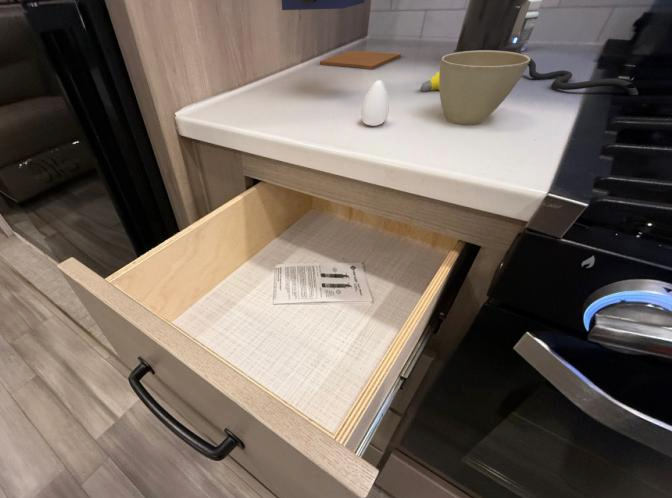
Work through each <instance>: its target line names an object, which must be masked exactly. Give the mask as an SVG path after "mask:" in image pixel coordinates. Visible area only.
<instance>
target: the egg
mask: <svg viewBox="0 0 672 498" xmlns="http://www.w3.org/2000/svg"><path fill="white" fill-rule="evenodd" d="M389 102H390V101H389V96H388V91H387V88H386V85H385V83H384V81H383V80H381V79H377V80H376V81H374V83H373V84H372V85H371V86H370V88H369V89H368V91H367V93H366V95H365V97H364V99H363V101H362V105H361V109H360V118H361V121H362V123H364V124H365V125H367V126H370V127H371V126H372V127H374V126H380V125H381V124H383V123H384V122H385V121H386V119H387V117H388V115H389V110H390V109H389V108H390V105H389V104H390V103H389Z"/></svg>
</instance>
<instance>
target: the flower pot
mask: <svg viewBox="0 0 672 498" xmlns="http://www.w3.org/2000/svg"><path fill="white" fill-rule="evenodd" d="M522 54H523V53H521V54H519V53H514V52H506V51H491V50H480V51H465V52H457V53H454V52H451V53H448V54H445V55H443V56H442V57H441V59H440V60H441V61H440V66H439V70H440V77H439V89H440V90H439V99H440V100H439V101H440V104H441V105H440V106H441V110H442V113H443V116H444V119H445V120H446V121H447V122H449V123H452V124H456V125H465V126H466V125H467V126H468V125H471V126H472V125H478V124H481V123H483V122H484V121H485V120H487V119H488V118H489V117H490V116H491V115H492V114H493V113H494V112H495V111H496V110H497V109H498V107H500V105H502V103H503V102H504V101H505V100H506V98H507V97H508V96H509V94H510V93H511V92H512V91H513V89H514V88H515V87H516V85H517V84H518V82H519V81H520V79H521V77H522V76H523V75H524V73H525V71H526V69H527V67H528V63H529V61H530V58H531V57H530V56H528V55H525V54H523V55H522ZM529 57H530V58H529Z"/></svg>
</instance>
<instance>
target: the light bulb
mask: <svg viewBox="0 0 672 498" xmlns="http://www.w3.org/2000/svg"><path fill="white" fill-rule="evenodd" d="M439 77H440V69H439V70H438V71H437V72H436V73H435V74H434V75H433V76H431V77H430V79H429V80H427V81H424V82H422V84H421V85H420V91H422V92H424V93H425V92H428V91H430V90H432V91H435V90H438V91H440V89H439Z"/></svg>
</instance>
